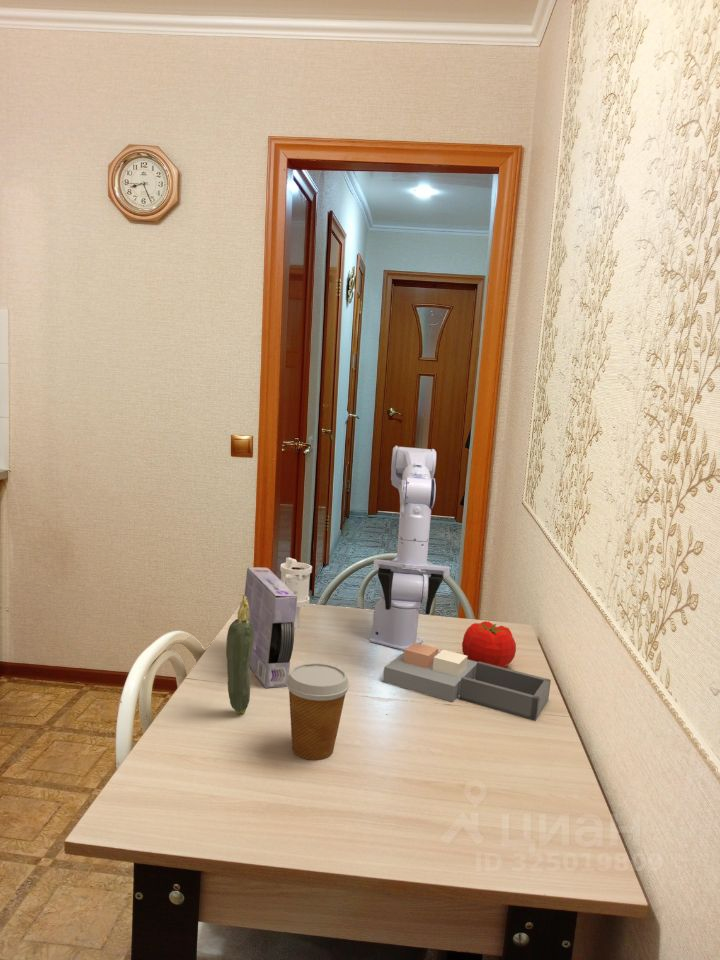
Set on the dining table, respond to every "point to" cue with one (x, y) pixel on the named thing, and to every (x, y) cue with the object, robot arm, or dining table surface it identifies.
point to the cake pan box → (270, 625)
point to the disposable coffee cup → (315, 708)
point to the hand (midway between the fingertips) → (407, 611)
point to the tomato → (489, 644)
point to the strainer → (297, 583)
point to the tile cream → (450, 663)
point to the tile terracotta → (420, 655)
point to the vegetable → (239, 658)
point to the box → (506, 690)
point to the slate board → (426, 678)
